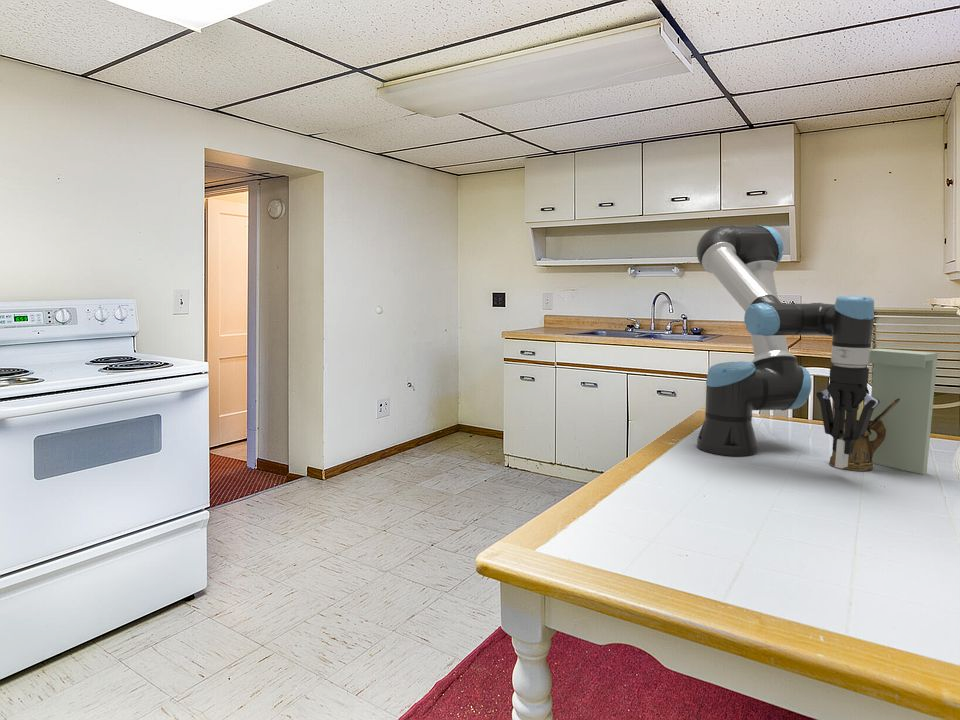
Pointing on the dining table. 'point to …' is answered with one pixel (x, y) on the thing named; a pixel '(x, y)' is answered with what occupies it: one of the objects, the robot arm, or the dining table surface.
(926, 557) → the dining table surface
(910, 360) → the sage green upright panel
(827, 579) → the dining table surface
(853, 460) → the wooden mug
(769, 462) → the dining table surface
